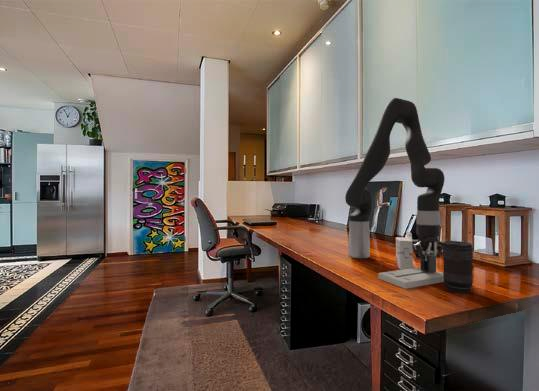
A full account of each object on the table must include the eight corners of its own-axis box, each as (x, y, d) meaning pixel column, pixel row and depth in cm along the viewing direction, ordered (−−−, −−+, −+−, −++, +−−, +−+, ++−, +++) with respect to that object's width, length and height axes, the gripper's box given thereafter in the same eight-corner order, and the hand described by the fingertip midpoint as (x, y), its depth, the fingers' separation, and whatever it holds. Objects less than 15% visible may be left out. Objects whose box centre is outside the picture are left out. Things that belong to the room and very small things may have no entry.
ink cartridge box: (395, 264, 125) (395, 230, 125) (407, 264, 124) (407, 230, 124) (399, 269, 117) (399, 233, 116) (413, 270, 116) (413, 233, 115)
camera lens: (445, 283, 98) (444, 239, 98) (474, 288, 93) (474, 242, 93) (440, 290, 92) (440, 243, 92) (471, 296, 87) (471, 246, 87)
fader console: (378, 278, 105) (378, 272, 105) (421, 271, 113) (421, 266, 113) (405, 288, 94) (405, 282, 94) (450, 280, 102) (450, 274, 102)
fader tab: (420, 270, 107) (420, 253, 107) (426, 269, 108) (426, 253, 108) (430, 273, 104) (430, 256, 104) (436, 272, 105) (436, 255, 105)
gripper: (432, 221, 112) (432, 265, 112) (405, 222, 107) (405, 269, 107) (451, 222, 105) (451, 270, 105) (422, 225, 100) (422, 275, 100)
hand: (428, 270), depth 106 cm, fingers closed on fader tab, 3 cm apart
